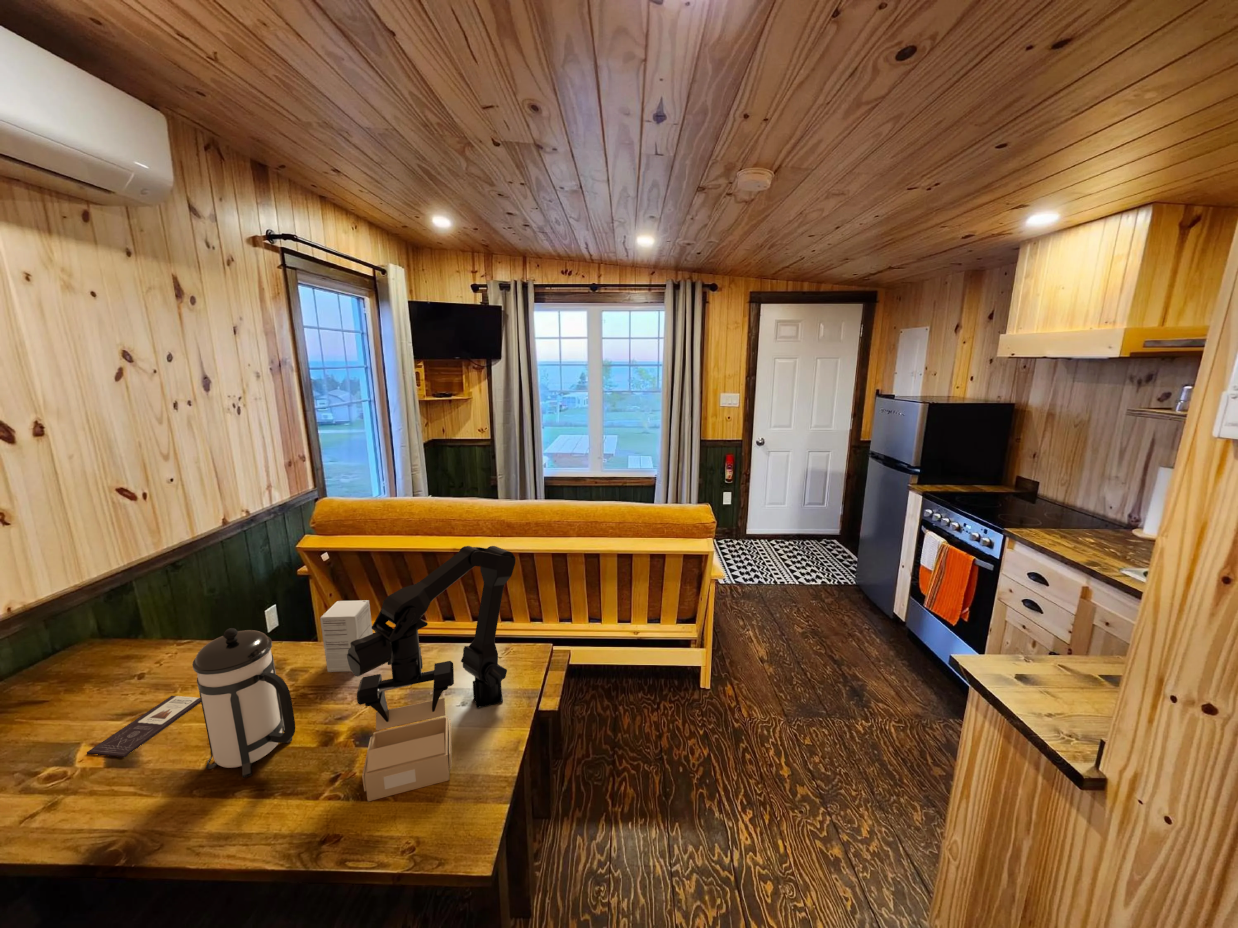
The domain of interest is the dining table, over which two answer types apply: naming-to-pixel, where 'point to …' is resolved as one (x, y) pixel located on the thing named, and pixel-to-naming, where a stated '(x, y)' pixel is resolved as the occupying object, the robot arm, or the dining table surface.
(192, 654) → the dining table surface
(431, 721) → the carton
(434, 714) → the tan cardboard box flap
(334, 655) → the supplement box
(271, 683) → the coffee press
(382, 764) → the flap camera side
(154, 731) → the chocolate bar
